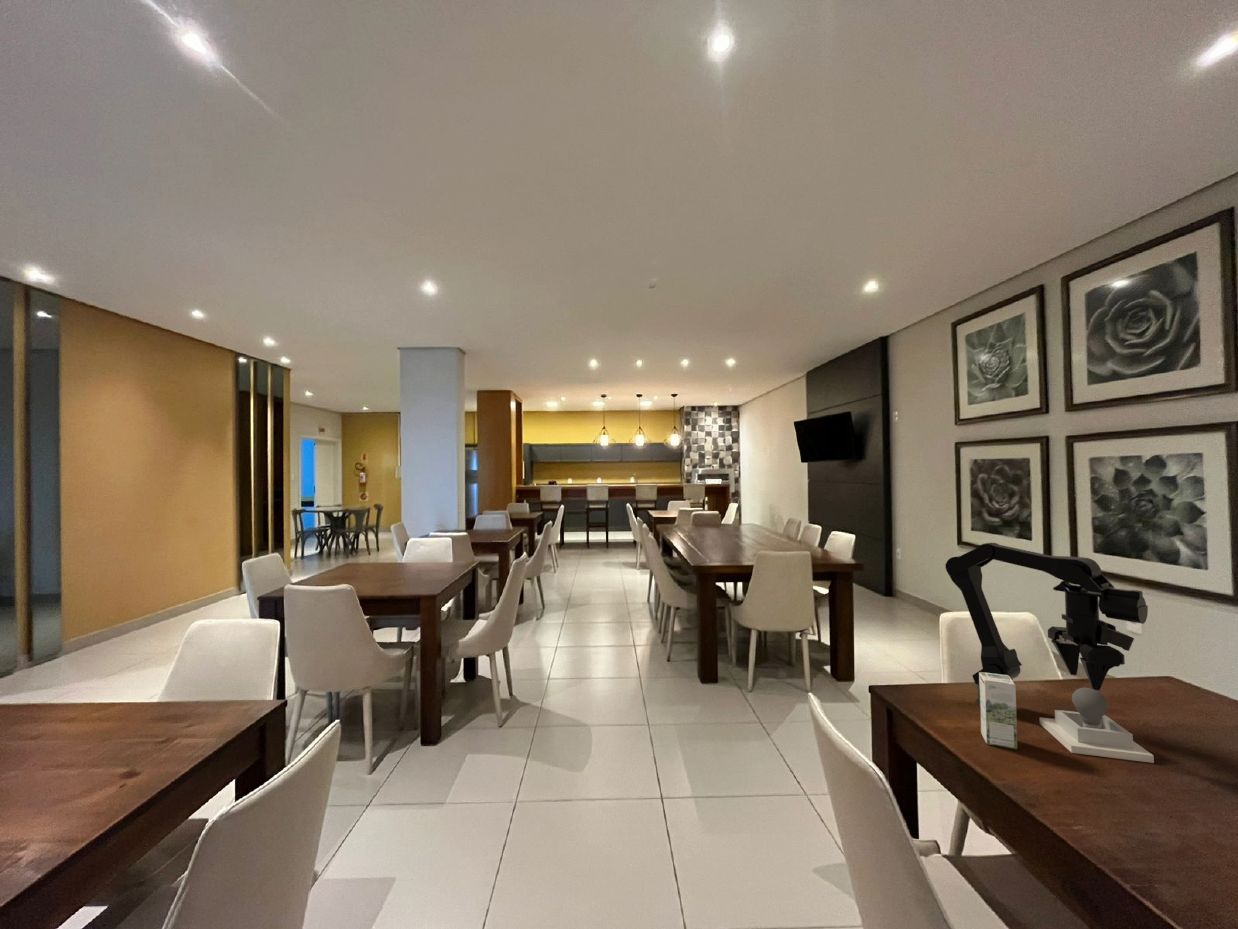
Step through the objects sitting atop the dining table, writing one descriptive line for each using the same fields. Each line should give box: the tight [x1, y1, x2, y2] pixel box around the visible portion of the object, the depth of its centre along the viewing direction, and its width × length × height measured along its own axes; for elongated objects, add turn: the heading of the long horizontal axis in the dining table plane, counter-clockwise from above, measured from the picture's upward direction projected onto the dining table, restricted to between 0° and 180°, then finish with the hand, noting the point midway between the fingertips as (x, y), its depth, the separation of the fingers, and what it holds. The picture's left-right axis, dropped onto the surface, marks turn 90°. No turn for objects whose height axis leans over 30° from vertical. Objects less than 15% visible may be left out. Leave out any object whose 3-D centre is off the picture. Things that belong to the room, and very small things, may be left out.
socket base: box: [1039, 709, 1155, 764], centre depth 114 cm, size 14×14×4 cm
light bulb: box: [1071, 687, 1109, 729], centre depth 114 cm, size 6×6×10 cm
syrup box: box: [979, 672, 1018, 750], centre depth 115 cm, size 6×6×14 cm
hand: (1084, 682), depth 116 cm, fingers open, 9 cm apart
